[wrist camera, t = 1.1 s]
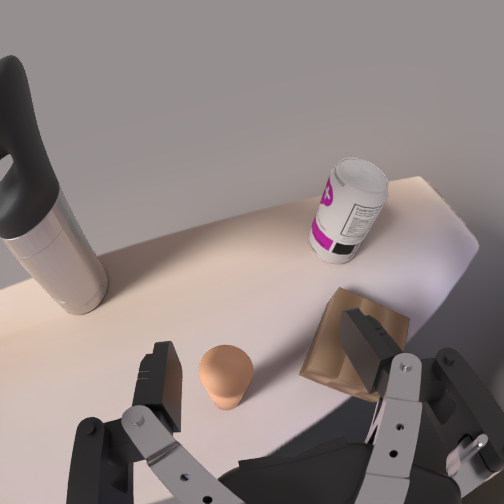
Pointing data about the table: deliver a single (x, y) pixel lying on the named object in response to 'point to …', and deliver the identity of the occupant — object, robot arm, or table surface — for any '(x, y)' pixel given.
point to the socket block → (331, 352)
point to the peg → (226, 375)
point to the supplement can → (347, 209)
